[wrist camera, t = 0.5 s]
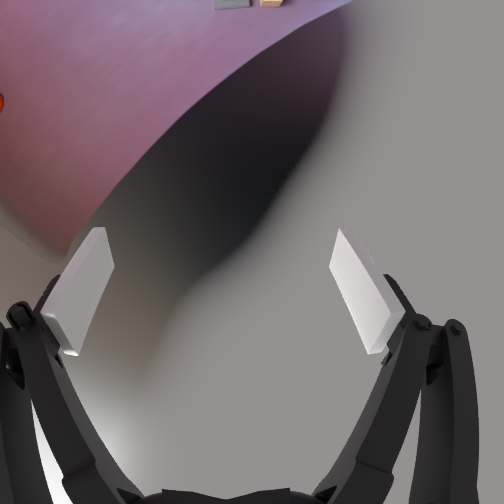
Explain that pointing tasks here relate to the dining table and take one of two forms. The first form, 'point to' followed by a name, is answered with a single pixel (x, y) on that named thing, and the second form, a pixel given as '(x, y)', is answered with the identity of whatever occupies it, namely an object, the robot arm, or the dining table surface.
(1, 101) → the bracket
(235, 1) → the hole plate
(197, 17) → the dining table surface
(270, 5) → the beam
